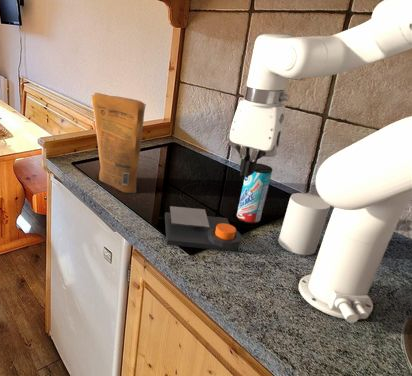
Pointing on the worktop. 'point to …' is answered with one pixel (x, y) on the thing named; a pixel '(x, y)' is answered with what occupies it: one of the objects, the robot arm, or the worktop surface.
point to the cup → (303, 223)
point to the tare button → (225, 231)
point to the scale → (200, 235)
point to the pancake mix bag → (118, 139)
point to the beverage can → (254, 194)
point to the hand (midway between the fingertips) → (245, 174)
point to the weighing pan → (189, 217)
